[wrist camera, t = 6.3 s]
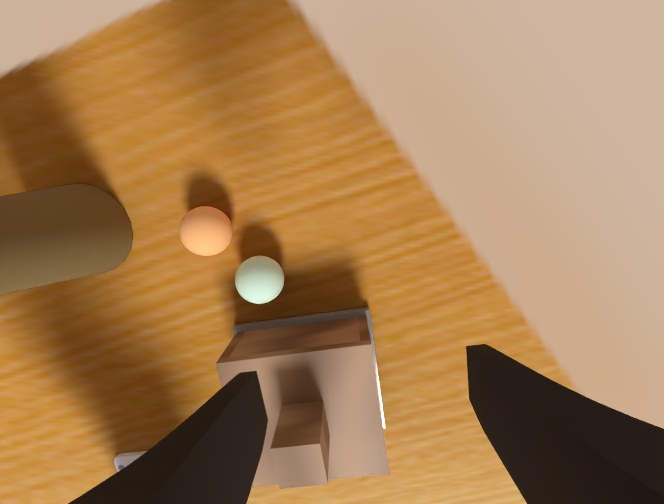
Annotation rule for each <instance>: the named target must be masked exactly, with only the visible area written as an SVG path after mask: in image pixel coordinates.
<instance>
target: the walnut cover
mask: <svg viewBox="0 0 664 504" xmlns="http://www.w3.org/2000/svg"><path fill="white" fill-rule="evenodd" d="M216 366H217V370H218V374H219V378H220V381H221V385H222V387H223V386H225V385H226V384H227V383H228V382H229V381H230V380H231V379H232V378H234V377H235V376H236V375H237V374H239V373H241V372H249V371H257V375H258V379H259V383H260V388H261V392H262V396H263V400H264V405H265V409H266V413H267V417H268V424H267V430H266V435H265V441H264V446H263V451H262V454H261V458H260V461H259V464H258V468H257V471H256V474H255V477H254V481H253V484H252V487H261V486H271V485H279V487H280V489H283V488H293V487H303V486H314V485H324V484H328V480H332V479H343V478H353V477H363V476H373V475H384V474H390V473H389V466H388V459H387V452H386V444H385V437H384V430H383V423H382V416H381V408H380V401H379V394H378V387H377V380H376V372H375V365H374V358H373V351H372V344H371V338H370V333H369V328H368V322H367V317H366V316H359V317H351V318H344V319H336V320H328V321H321V322H313V323H305V324H298V325H290V326H282V327H275V328H267V329H259V330H252V331H244V332H237V333H236V335H235V336H234V338H233V339H232V341H231V342H230V343H229V345H228V346H227V348H226V349H225V351H224V352H223V354H222V355H221V357H220V358H219V360H218V361H217V362H216Z"/></svg>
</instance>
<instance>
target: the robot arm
mask: <svg viewBox="0 0 664 504" xmlns="http://www.w3.org/2000/svg"><path fill="white" fill-rule="evenodd" d="M466 350H467V367H468V385H469V399H470V402H471V404H472V406H473V409H474V411H475V413H476V415H477V418H478V420H479V422H480V424H481V426H482V428H483V430H484V432H485V434H486V435H487V437H488V439H489V441H490V442H491V444H492V446H493V447H494V449H495V451H496V452H497V454H498V456H499V457H500V459H501V461H502V462H503V464H504V466H505V467H506V469H507V471H508V472H509V474H510V476H511V477H512V479H513V481H514V482H515V484H516V486H517V487H518V489H519V491H520V492H521V494H522V496H523V497H524V499H525V501H526V502H527V504H664V429H663V428H660V427H657V426H654V425H652V424H649V423H646V422H644V421H641V420H639V419H636V418H633V417H631V416H629V415H626V414H624V413H622V412H619V411H617V410H614V409H612V408H609V407H607V406H605V405H602V404H600V403H598V402H596V401H594V400H591V399H589V398H587V397H585V396H583V395H581V394H579V393H577V392H574V391H572V390H570V389H568V388H566V387H564V386H562V385H560V384H558V383H556V382H554V381H552V380H550V379H548V378H547V377H545V376H543V375H541V374H539V373H537V372H535V371H533V370H532V369H530V368H528V367H526V366H524V365H523V364H521V363H519V362H517V361H515V360H514V359H512V358H510V357H508V356H506V355H505V354H503V353H501V352H499V351H498V350H496V349H494V348H492V347H490V346H488V345H486V344H481V345H473V346H466ZM267 424H268V417H267V413H266V409H265V405H264V400H263V396H262V392H261V388H260V383H259V379H258V375H257V371H249V372H241V373H239V374H237V375H236V376H235V377H234V378H232V379H231V380H230V381H229V382H228V383H227V384H226V385H225V386H223V387H222V388H221V389H220V390H219V391H218V392H217V393H216V394H215V395H214V396H212V397H211V398H210V399H209V400H208V401H207V402H206V403H205V404H204V405H203V406H201V407H200V408H199V409H198V410H197V411H196V412H195V413H194V414H192V415H191V416H190V417H189V418H188V419H186V420H185V421H184V422H183V423H182V424H181V425H179V426H178V427H177V428H176V429H175V430H173V431H172V432H171V433H170V434H169V435H167V436H166V437H165V438H164V439H162V440H161V441H160V442H159V443H157V444H156V445H155V446H153V447H152V448H151V449H150V450H148V451H140V452H131V453H122V454H118V455H117V456H116V457H115V459H114V464H115V467H116V469H117V473H116V474H114V475H113V476H111V477H109V478H108V479H106V480H105V481H103V482H102V483H100V484H99V485H97V486H96V487H94V488H93V489H91V490H89V491H88V492H86V493H85V494H83V495H82V496H80V497H78V498H77V499H75V500H73V501H72V502H70V503H68V504H246V503H247V500H248V496H249V493H250V490H251V487H252V484H253V481H254V477H255V474H256V471H257V468H258V464H259V461H260V458H261V454H262V451H263V446H264V441H265V435H266V430H267Z"/></svg>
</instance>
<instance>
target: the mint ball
mask: <svg viewBox="0 0 664 504" xmlns="http://www.w3.org/2000/svg"><path fill="white" fill-rule="evenodd" d="M235 285H236V288H237V291H238V292H239V294H240V295H241V296H242V297H243V298H244V299H245V300H247V301H249V302H252V303H256V304H262V303H267V302H269V301H271V300H273V299H274V298H276V297H277V296H278V295H279V293H280V292H281V290H282V288H283V285H284V274H283V270H282V268H281V267H280V265H279V264H278V263H277V262H276V261H275V260H273V259H272V258H269V257H266V256H254V257H251V258H249V259H247V260H245V261H244V262H243V263H242V264H241V265H240V266H239V268H238V270H237V272H236V276H235Z"/></svg>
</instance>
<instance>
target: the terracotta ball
mask: <svg viewBox="0 0 664 504" xmlns="http://www.w3.org/2000/svg"><path fill="white" fill-rule="evenodd" d="M232 233H233V230H232V225H231V222H230V220H229V218H228V217H227V216H226V215H225V214H224V213H223V212H222V211H220V210H219V209H216V208H213V207H209V206H201V207H197V208H194V209H192V210H190V211H189V212H188V213H186V214H185V216H184V217H183V218H182V220H181V223H180V226H179V234H180V238H181V241H182V242H183V244H184V245H185V247H186V248H187V249H189V250H190V251H192V252H193V253H195V254H198V255H203V256H210V255H215V254H218V253H220V252H221V251H223V250H224V249H225V248H226V247H227V246H228V245H229V243H230V241H231V239H232Z"/></svg>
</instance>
